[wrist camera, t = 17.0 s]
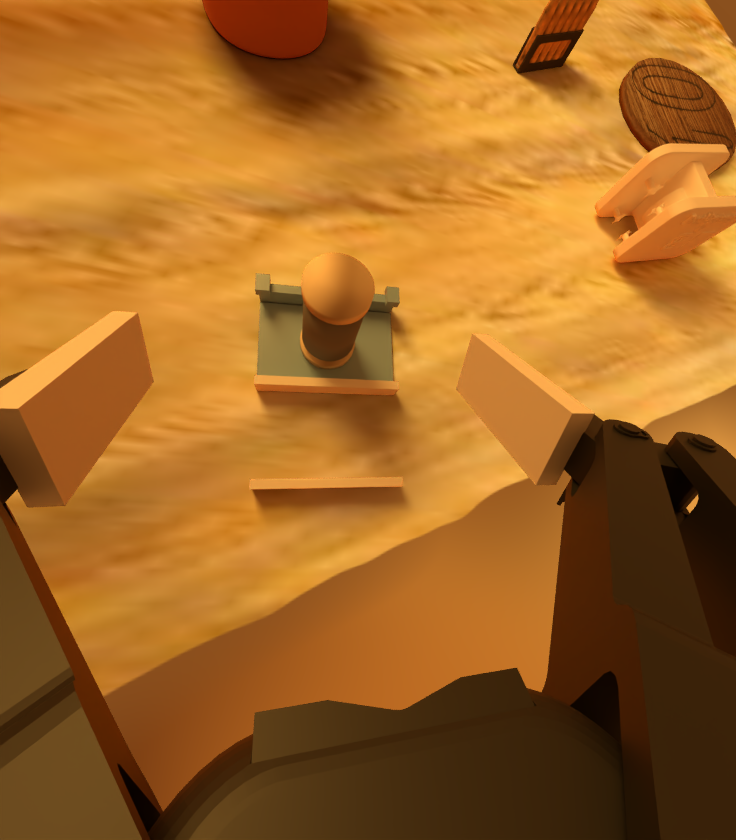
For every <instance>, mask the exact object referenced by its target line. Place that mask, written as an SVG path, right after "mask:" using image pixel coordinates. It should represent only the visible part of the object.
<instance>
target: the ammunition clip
mask: <svg viewBox="0 0 736 840" xmlns="http://www.w3.org/2000/svg"><path fill="white" fill-rule="evenodd" d="M598 1H599V0H550V1H549V3H548V4H547V6H546V7H545V9H544V11H543V13H542V15H541V17H540V19H539V21H538V22H537V24H536V26H535V27H533V28H532V30H531V32H530V33H529V35H528V37H527V39H526V41H525V43H524V45H523V47H522V48H521V50H520V52H519V54H518V56H517V58H516V60H515V62H514V63H513V66H514V68H515V69H516V71H517V73H524V72H530V71H536V70H542V69H549V68H555V67H561V66H563V64H564V62H565V61H566V59H567V57H568V56H569V54H570V52H571V51H572V49H573V47H574V46H575V44H576V43H577V41H578V39H579V38H580V36H581V34H582V33H583V31H584V30H583V27H584V26H585V24H586V23H587V21H588V19H589V18H590V16H591V14H592V13H593V11H594V9H595V7H596V5H597V3H598Z"/></svg>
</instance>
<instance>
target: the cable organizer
mask: <svg viewBox="0 0 736 840" xmlns="http://www.w3.org/2000/svg"><path fill="white" fill-rule="evenodd" d="M729 156H730V153H729V151H728V149H727V147H726V145H724V144H674V143H670V144H665V145H662V146H659V147H657V148H655V149H653V150H652V151H650V152H649V153H648V154H646V155H645V156H644V157H643V158H642V159H641V160H640V161H639V162H638V163H637V164H636V165H635V166H634V167H633V168H632V169H631V170H630V171H629V172H628V173H627V174H626V175H625V176H623V177H622V178H621V179H620V180H619V181H618V182H617V183H616V184H615V185H614V186H613V187H612V188H611V189H610V190H609V191H608V192H607V193H606V194H605V195H604V196H603V197H602V198H601V199H600V200H599V201H598V202H597V203H596V205H595V209H596V212H597V214H598V216H599V217H615V221H614V222H616V221H618V222H619V221H620V220H621V218H623V217H624V216H633V217H634V220H635V222H636V225H637V227H638V230H637V231H636V232H635V233H634V234H632V235H631V236H630V237H629V235H628V234H629V233H631V232H629V231H630V230H629V231H627V232H626V233H625V234H622V235H620V236H619V238H618V239H617V240H619V239H620V238H622V239H623V242H622V243H621V244H619V245H618V246H617V247H616V248H615V249H614V250H613V254H614V257H615V259H616V261H617V262H619V263H623V262H634V261H645V260H656V259H667V258H674V257H677V256H680V255H683V254H685V253H687V252H689V251H691V250H693V249H694V248H696V247H697V246H699V245H701V244H702V243H704V242H705V241H707V240H709V239H710V238H712V237H714V236H715V235H717V234H718V233H720V232H722V231H723V230H725V229H727V228H728V227H730V226H731V225H733V224H735V223H736V196H717V195H716V193H715V191H714V189H713V186H712V184H711V182H710V180H709V178H708V175H709V174H711V173H712V172H713V171H714V170H716V169H717V168H718V167H720V166H721V165H722V164H723V163H725V162H726V161H727V159H728V158H729ZM614 222H613V223H614ZM617 240H616V241H617Z"/></svg>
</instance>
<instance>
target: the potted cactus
mask: <svg viewBox="0 0 736 840" xmlns="http://www.w3.org/2000/svg"><path fill="white" fill-rule="evenodd" d="M202 2H203V5H204V9H205V11H206V14H207V16H208V18H209V20H210V21H211V23H212V25H213V26H214V27H215V29H216V30H217V31H218V32H219V33H220V34H221V35H222V36H223V37H224V38H225V39H226V40H227V41H229V42H230V43H232V44H233V45H235V46H237V47H238V48H240V49H243V50H245V51H247V52H250V53H253V54H256V55H260V56H264V57H270V58H295V57H300V56H303V55H306V54H309V53H311V52H312V51H314V50H315V49H316V48H317V47H318V46H319V45H320V44H321V42H322V41H323V38H324V36H325V32H326V25H327V11H328V0H202Z"/></svg>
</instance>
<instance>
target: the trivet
mask: <svg viewBox="0 0 736 840" xmlns="http://www.w3.org/2000/svg"><path fill="white" fill-rule="evenodd" d="M619 103H620V107H621V111H622V114H623V117H624V119H625V121H626V123H627V125H628V127H629V129H630V131H631V132H632V134H633V135H634V136H635V137H636V139H637V140H638V141H639V143H640V144H641V145H642V146H643V147H644V148H645V149H646V150H647V151H648V152H650V151H652V150H653V149H655V148H657V147H659V146H662V145H665V144H670V143H674V144H724V145H726V147H727V149H728V151H729V153H730V156H729V158H728V159H727V161H726V162H728V161H729V160H730V158H731V157H732V155H733V154H734V152H735V147H736V129H735V126H734V123H733V120H732V117H731V114H730V113H729V111H728V109H727V107H726V106H725V104H724V102H723V101H722V99H721V98H720V97H719V95H718V94H717V93H716V92H715V90H714V89H713V88H712V87H711V86H710V85H709V84H708V83H707V82H706V81H704V80H703V79H702V78H701V77H700V76H699V75H697V74H696V73H694V72H693V71H691V70H690V69H688V68H687V67H685V66H682V65H680V64H678V63H676V62H674V61H670V60H666V59H662V58H648V59H645V60H642V61H640V62H638V63H637V64H636V65H635V66H634V67H633V68H632V69H631V70H630V71H629V72H628V74H627V75H626V76H625V77H624V79H623V81H622V83H621V86H620V89H619ZM726 162H725V163H726ZM725 163H723V164H722V165H721V166H723V165H724V164H725ZM721 166H720V167H721ZM720 167H718V168H717V169H719V168H720ZM717 169H716V170H717ZM714 171H715V170H714Z"/></svg>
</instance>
